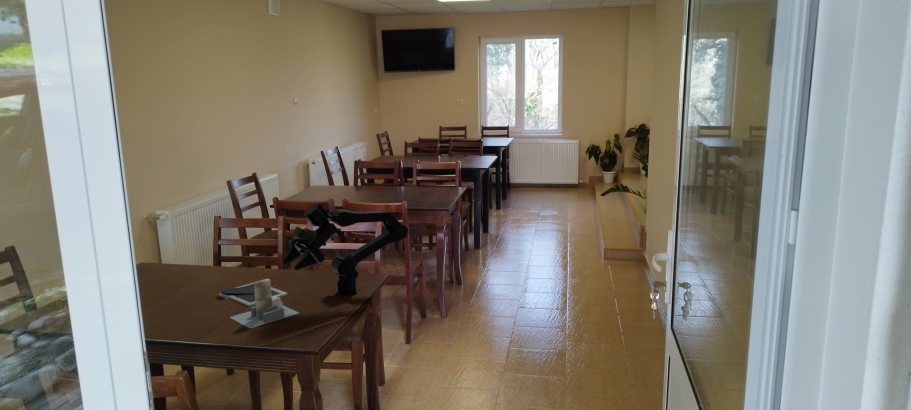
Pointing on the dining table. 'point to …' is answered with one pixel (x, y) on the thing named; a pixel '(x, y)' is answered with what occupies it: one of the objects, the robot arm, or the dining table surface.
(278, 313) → the slot rack
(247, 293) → the picture frame
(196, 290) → the dining table surface
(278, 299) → the offcut stack
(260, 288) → the birch panel
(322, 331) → the dining table surface
